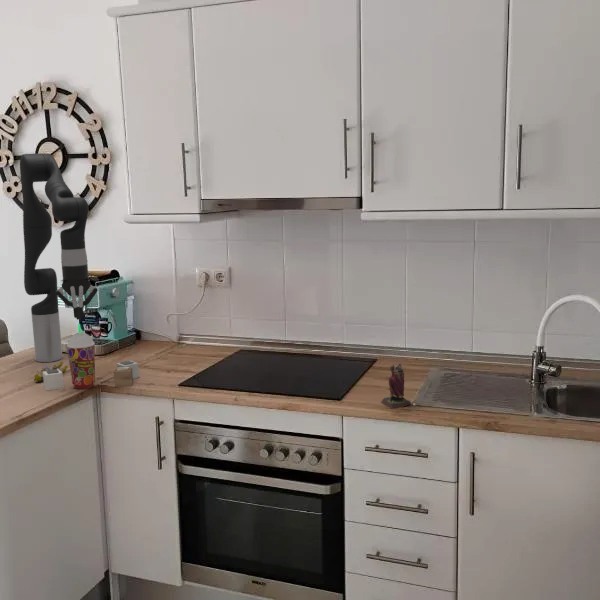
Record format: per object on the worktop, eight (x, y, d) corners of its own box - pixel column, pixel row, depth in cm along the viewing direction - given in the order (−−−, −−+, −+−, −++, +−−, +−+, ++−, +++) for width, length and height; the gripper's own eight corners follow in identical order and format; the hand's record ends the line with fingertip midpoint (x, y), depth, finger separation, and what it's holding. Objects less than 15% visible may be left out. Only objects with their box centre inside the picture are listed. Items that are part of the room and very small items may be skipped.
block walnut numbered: (117, 382, 224) (116, 366, 223) (133, 381, 224) (132, 365, 223) (114, 387, 219) (113, 370, 218) (131, 386, 219) (129, 370, 218)
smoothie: (79, 391, 214) (74, 328, 211) (65, 386, 220) (59, 324, 217) (103, 385, 221) (98, 323, 217) (88, 380, 226) (84, 320, 223)
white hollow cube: (44, 386, 221) (42, 370, 220) (60, 384, 223) (59, 368, 223) (47, 390, 217) (45, 374, 216) (63, 388, 219) (62, 371, 218)
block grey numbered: (117, 378, 229) (116, 362, 228) (130, 375, 232) (129, 359, 231) (125, 381, 225) (124, 365, 224) (138, 377, 229) (137, 362, 228)
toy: (73, 366, 238) (48, 375, 223) (65, 377, 239) (39, 387, 225) (61, 356, 238) (36, 365, 224) (53, 367, 240) (27, 377, 225)
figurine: (411, 406, 195) (412, 364, 192) (391, 409, 192) (391, 367, 190) (401, 399, 201) (401, 359, 198) (380, 402, 198) (380, 361, 196)
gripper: (96, 260, 219) (100, 315, 222) (51, 263, 215) (56, 318, 218) (97, 263, 212) (102, 319, 215) (51, 266, 208) (56, 323, 211)
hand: (78, 318), depth 216 cm, fingers closed
